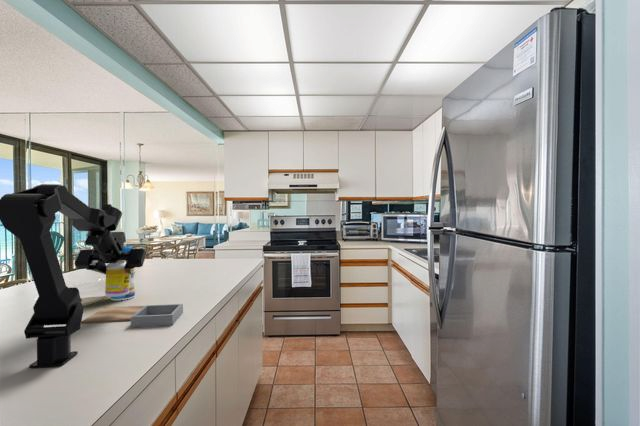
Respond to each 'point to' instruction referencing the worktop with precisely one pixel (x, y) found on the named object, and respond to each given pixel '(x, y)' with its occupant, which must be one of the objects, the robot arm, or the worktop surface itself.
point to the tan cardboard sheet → (113, 314)
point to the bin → (157, 315)
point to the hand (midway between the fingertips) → (119, 273)
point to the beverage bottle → (131, 281)
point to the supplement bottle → (117, 279)
